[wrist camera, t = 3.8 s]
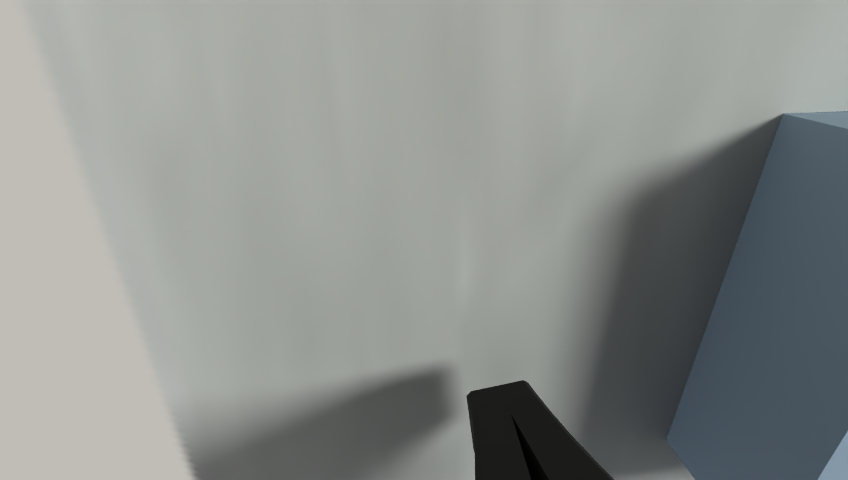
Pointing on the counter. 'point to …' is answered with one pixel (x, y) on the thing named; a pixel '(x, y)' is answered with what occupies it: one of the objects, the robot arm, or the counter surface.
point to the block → (779, 324)
